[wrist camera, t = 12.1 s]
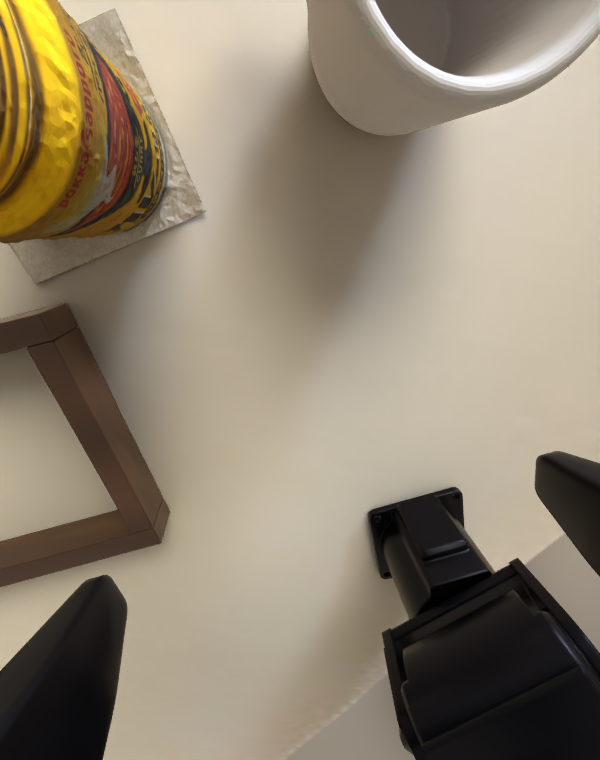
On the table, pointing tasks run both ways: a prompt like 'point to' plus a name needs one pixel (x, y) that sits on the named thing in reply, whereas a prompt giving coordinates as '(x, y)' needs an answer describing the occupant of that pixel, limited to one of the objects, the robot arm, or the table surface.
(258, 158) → the table surface
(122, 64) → the condiment
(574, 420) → the table surface
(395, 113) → the cup
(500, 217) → the table surface
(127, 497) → the holder
